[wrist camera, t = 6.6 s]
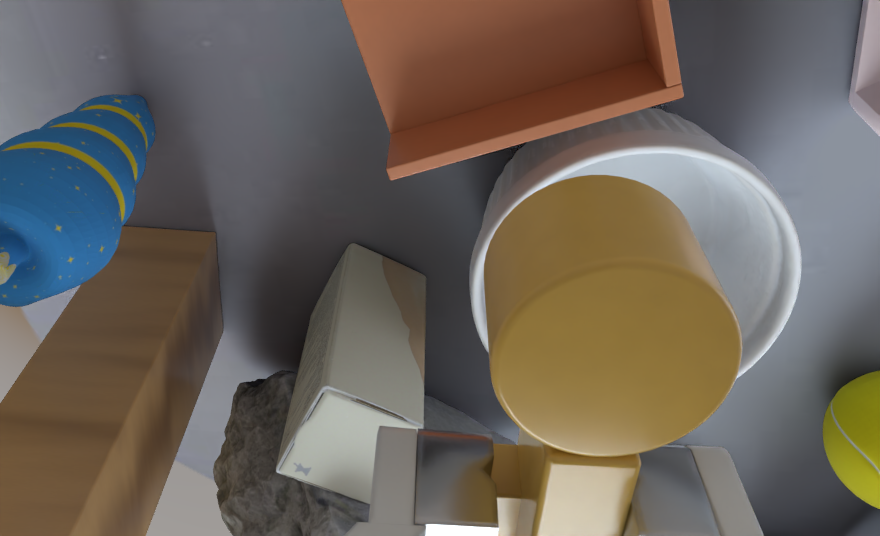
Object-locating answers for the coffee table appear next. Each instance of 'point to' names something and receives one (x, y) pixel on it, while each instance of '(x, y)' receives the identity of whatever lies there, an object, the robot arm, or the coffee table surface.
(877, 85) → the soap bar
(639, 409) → the key
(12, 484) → the wooden post
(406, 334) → the box
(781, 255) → the ramekin
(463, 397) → the coffee table surface
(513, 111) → the tray
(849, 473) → the tennis ball
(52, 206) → the ornament
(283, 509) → the decorative rock
